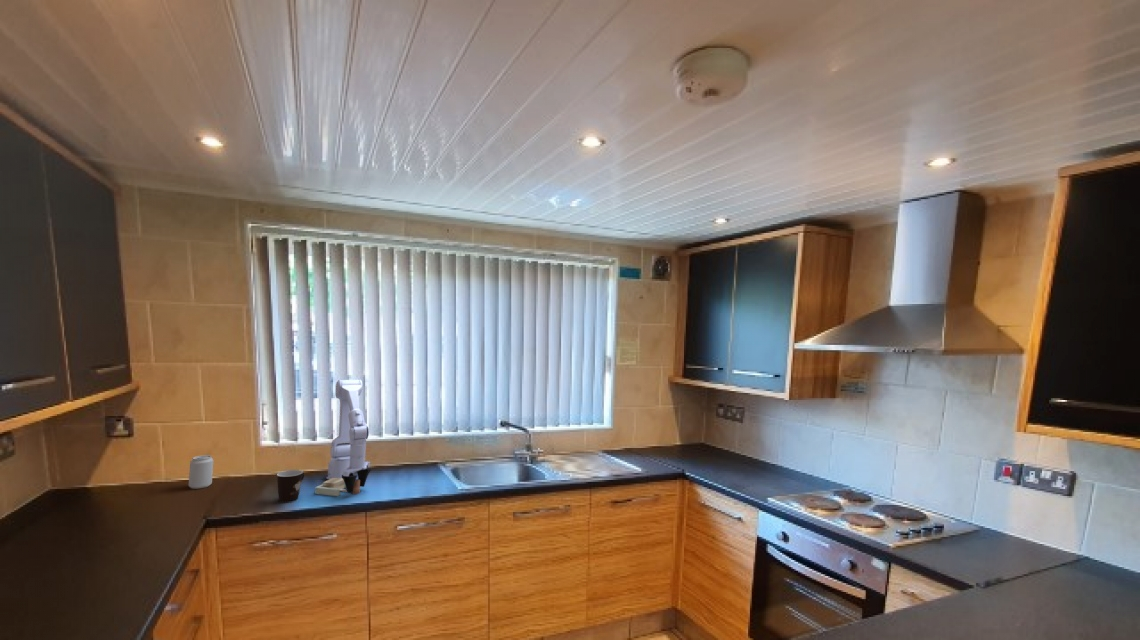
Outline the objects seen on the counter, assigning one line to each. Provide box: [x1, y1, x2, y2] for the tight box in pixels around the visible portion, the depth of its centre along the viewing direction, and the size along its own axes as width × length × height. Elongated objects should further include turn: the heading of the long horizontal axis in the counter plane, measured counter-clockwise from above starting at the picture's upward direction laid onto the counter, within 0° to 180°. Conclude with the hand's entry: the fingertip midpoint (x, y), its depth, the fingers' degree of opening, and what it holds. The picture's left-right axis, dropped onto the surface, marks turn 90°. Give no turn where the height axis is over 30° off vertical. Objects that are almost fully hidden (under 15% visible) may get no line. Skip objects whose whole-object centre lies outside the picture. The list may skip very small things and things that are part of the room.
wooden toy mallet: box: [322, 478, 361, 495], centre depth 189 cm, size 14×6×5 cm, turn 80°
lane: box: [314, 482, 346, 497], centre depth 190 cm, size 10×11×2 cm
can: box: [188, 454, 214, 490], centre depth 189 cm, size 8×8×12 cm
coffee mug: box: [276, 469, 305, 503], centre depth 180 cm, size 12×9×10 cm
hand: (355, 489), depth 188 cm, fingers open, 7 cm apart
